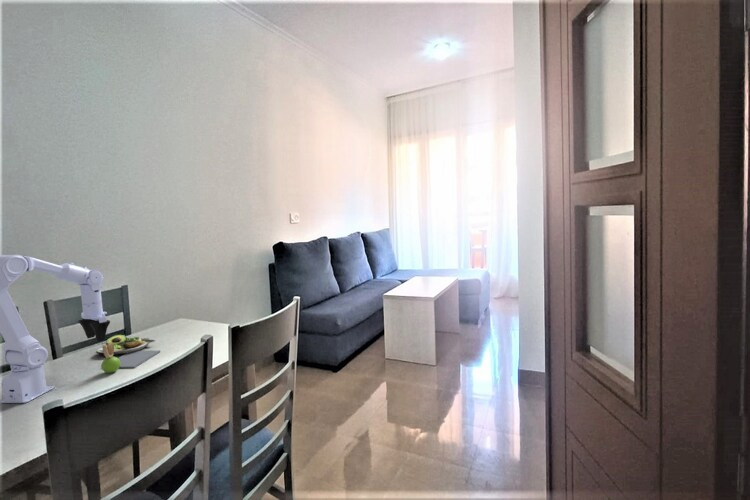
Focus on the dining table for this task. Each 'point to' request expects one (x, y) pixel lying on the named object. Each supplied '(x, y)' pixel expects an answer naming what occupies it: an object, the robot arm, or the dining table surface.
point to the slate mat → (135, 358)
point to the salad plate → (125, 344)
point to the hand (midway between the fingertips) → (95, 339)
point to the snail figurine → (109, 359)
